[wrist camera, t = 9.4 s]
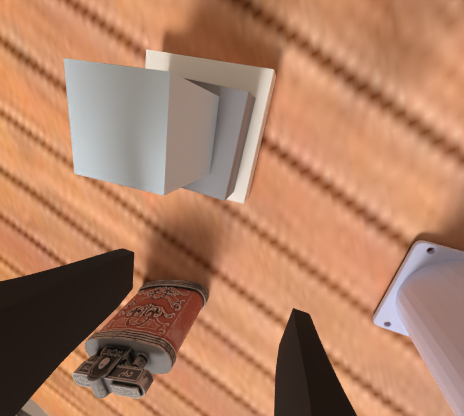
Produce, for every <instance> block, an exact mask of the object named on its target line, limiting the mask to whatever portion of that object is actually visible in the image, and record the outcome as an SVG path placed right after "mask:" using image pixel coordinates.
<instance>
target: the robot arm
mask: <svg viewBox="0 0 464 416" xmlns="http://www.w3.org/2000/svg"><path fill="white" fill-rule="evenodd" d="M428 248H432V250H431V251H429V252H427V249H428ZM133 267H134V252H132V251H129V250H126V249H123V248H122V249H118V250H114V251H110V252H107V253H104V254H100V255H97V256H94V257H91V258H87V259H84V260H81V261H77V262H74V263H71V264H67V265H64V266H60V267H57V268H53V269H49V270H46V271H42V272H38V273H35V274H31V275H27V276H23V277H18V278H14V279H9V280H5V281H0V416H15V415H16V414H17V413H18V412H19V411H20V410H21V408H22V407H23V406H24V404H26V402H27V401H28V400H29V399H30V398H31V396H32V395H33V394H34V393H35V392H36V391H37V389H38V388H39V387H40V386H41V385H42V384H43V383H44V381H45V380H46V379H47V378H48V377H49V376H50V375H51V374H52V372H53V371H54V370H55V369H56V368H57V367H58V366H59V365H60V363H61V362H62V361H63V360H64V359H65V358H66V357H67V356H68V355H69V354H70V353H71V352H72V351H73V350H74V349H75V348H76V347H77V346H78V345H79V344H80V343H81V342H83V341H84V340H85V339H86V338H87V337H88V336H89V335H90V334H91V333H92V332H93V331H94V330H95V329H96V328H97V327H98V326H99V325H100V324H101V323H102V322H103V321H104V320H105V319H106V318H107V317H108V316H109V315H110V314H111V313H112V312H113V311H114V310H115V309H116V308H117V307H118V306H119V305H120V303H121V302H122V301H123V300H124V299H125V297H126V296H127V295H128V294H129V292H130V291H131V290H132V288H133ZM373 321H374V323H375V324H376V325H377V326H380V327H383V328H386V329H388V330H391V331H394V332H397V333H400V334H403V335H406V336H409V337H410V338H411V339H412V341H413V343H414V345H415V346H416V348H417V350H418V352H419V353H420V355H421V357H422V359H423V360H424V362H425V364H426V366H427V367H428V369H429V371H430V372H431V374H432V376H433V378H434V379H435V381H436V383H437V385H438V386H439V388H440V390H441V392H442V393H443V395H444V397H445V399H446V400H447V402H448V404H449V406H450V407H451V409H452V411H453V413H454V414H455V416H464V251H462V250H458V249H454V248H450V247H447V246H443V245H439V244H435V243H432V242H428V241H424V240H419V241H416V242H415V243H414V244H413V245H412V247H411V249H410V251H409V253H408V254H407V256H406V258H405V260H404V262H403V263H402V265H401V267H400V269H399V271H398V272H397V274H396V276H395V278H394V280H393V281H392V283H391V285H390V287H389V289H388V291H387V292H386V294H385V296H384V298H383V300H382V301H381V303H380V305H379V307H378V309H377V310H376V312H375V314H374V316H373ZM384 322H388V323H384ZM274 416H357V415H356V413H355V411H354V409H353V407H352V405H351V403H350V402H349V400H348V398H347V396H346V394H345V392H344V390H343V388H342V386H341V384H340V382H339V380H338V378H337V376H336V374H335V372H334V370H333V367H332V365H331V363H330V361H329V359H328V357H327V354H326V352H325V350H324V348H323V345H322V343H321V341H320V338H319V336H318V334H317V331H316V329H315V326H314V324H313V321H312V319H311V317H310V315H309V314H308V313H306V312H303V311H300V310H297V309H294V308H293V310H292V313H291V315H290V318H289V321H288V323H287V326H286V328H285V331H284V334H283V336H282V339H281V342H280V344H279V350H278V358H277V365H276V375H275V407H274Z"/></svg>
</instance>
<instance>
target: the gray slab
mask: <svg viewBox="0 0 464 416" xmlns="http://www.w3.org/2000/svg"><path fill="white" fill-rule="evenodd" d="M184 79H186V78H184ZM186 80H188V81H190V82H192V83H194V84H196V85H198V86H200V87H202V88H204V89H205V90H207V91H209V92H211V93H213V94H215V95H217V96H219V104H218V113H217V121H216V129H215V137H214V145H213V154H212V162H211V170H210V174H209V175H207V176H204V177H202V178H200V179H198V180H196V181H194V182H192V183H190V184H187V185H185V186H183V187H181V188H184V189H188V190H191V191H194V192H197V193H201V194H204V195H207V196H211V197H214V198H217V199H221V200H224V201H225V200H226V199H227V198H228V197H229V196H230V195H231V194H232V193H233V192H234V190H235V185H236V181H237V177H238V172H239V168H240V164H241V160H242V155H243V151H244V147H245V143H246V138H247V134H248V130H249V126H250V121H251V117H252V113H253V108H254V104H255V100H256V98H255V97H254V96H253V95H252V94H251V93H249V92H248V91H243V90H238V89H233V88H229V87H224V86H219V85H214V84H210V83H205V82H200V81H195V80H191V79H186Z"/></svg>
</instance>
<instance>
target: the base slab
mask: <svg viewBox="0 0 464 416" xmlns="http://www.w3.org/2000/svg"><path fill="white" fill-rule="evenodd" d="M145 68H146V69H154V70H162V71H170V72H172V73H174V74H176V75H178V76H180V77H182V78H186V79H191V80H195V81H200V82H205V83H210V84H214V85H219V86H224V87H229V88H233V89H238V90H243V91H248V92H249V93H251V94H252V95H253V96H254V97H255V98H256V100H255V104H254V108H253V113H252V117H251V121H250V126H249V130H248V134H247V138H246V143H245V147H244V151H243V155H242V160H241V164H240V168H239V172H238V177H237V181H236V185H235V190H234V192H233V193H232V194H231V195H230V196H229V197H228V198H227V199H228V200H231V201H235V202H239V203H242V204H244V203H245V201H246V200H247V199H248V197H249V193H250V189H251V184H252V180H253V176H254V171H255V167H256V163H257V158H258V154H259V150H260V145H261V141H262V137H263V132H264V128H265V124H266V119H267V115H268V111H269V106H270V102H271V98H272V93H273V89H274V85H275V80H276V74H275V71H274V69H269V68H262V67H256V66H249V65H243V64H236V63H230V62H224V61H217V60H211V59H204V58H198V57H192V56H185V55H179V54H172V53H166V52H160V51H153V50H147V49H146V66H145Z"/></svg>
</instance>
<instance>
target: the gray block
mask: <svg viewBox="0 0 464 416" xmlns="http://www.w3.org/2000/svg"><path fill="white" fill-rule="evenodd" d="M64 67H65V78H66V88H67V99H68V109H69V120H70V131H71V141H72V152H73V162H74V173H75V174H78V175H82V176H86V177H90V178H94V179H98V180H103V181H107V182H111V183H115V184H119V185H123V186H127V187H131V188H135V189H139V190H143V191H148V192H152V193H156V194H160V195H166V194H168V193H170V192H172V191H175V190H177V189H179V188H181V187H183V186H185V185H187V184H190V183H192V182H194V181H196V180H198V179H200V178H202V177H204V176H207V175H209V174H210V170H211V162H212V154H213V145H214V137H215V129H216V121H217V113H218V104H219V96H217V95H215V94H213V93H211V92H209V91H207V90H205V89H204V88H202V87H200V86H198V85H196V84H194V83H192V82H190V81H188V80H186V79H184V78H182V77H180V76H178V75H176V74H174V73H172V72H170V71H162V70H154V69H146V68H138V67H130V66H122V65H114V64H106V63H98V62H90V61H82V60H74V59H66V58H64Z"/></svg>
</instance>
